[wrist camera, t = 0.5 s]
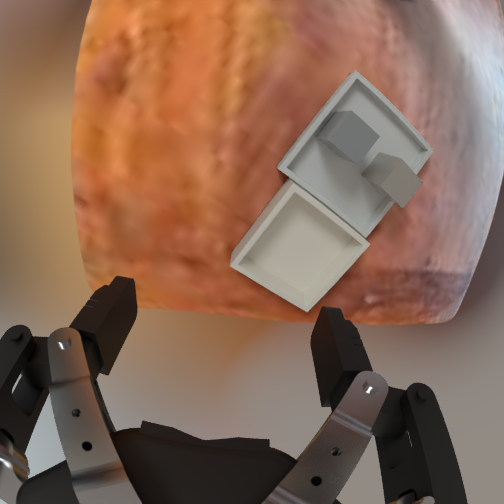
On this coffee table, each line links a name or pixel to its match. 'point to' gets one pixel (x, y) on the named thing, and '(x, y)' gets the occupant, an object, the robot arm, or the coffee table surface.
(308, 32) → the coffee table surface
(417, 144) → the parts tray
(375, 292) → the coffee table surface
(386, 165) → the light grey block
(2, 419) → the robot arm
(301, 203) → the open box
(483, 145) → the coffee table surface
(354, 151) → the blue-grey block
